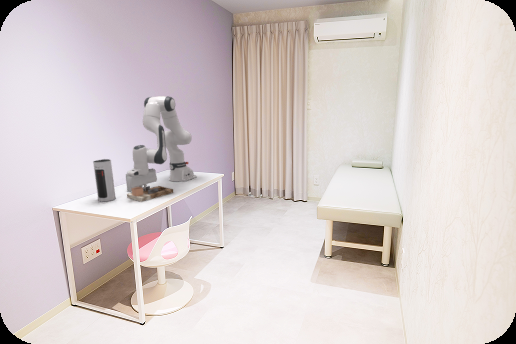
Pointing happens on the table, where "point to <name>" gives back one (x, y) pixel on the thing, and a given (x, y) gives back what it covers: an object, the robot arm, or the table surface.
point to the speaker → (104, 180)
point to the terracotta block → (137, 191)
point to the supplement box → (129, 187)
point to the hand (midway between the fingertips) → (143, 191)
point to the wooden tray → (151, 193)
